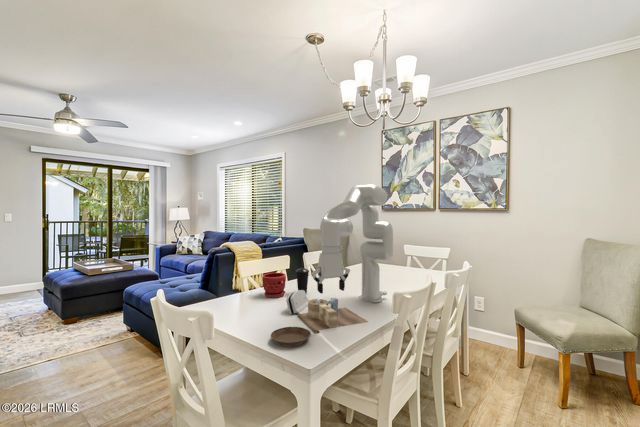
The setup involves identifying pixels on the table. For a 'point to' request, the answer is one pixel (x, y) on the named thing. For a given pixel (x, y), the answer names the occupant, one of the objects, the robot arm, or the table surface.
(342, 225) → the robot arm
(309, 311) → the link
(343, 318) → the board
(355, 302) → the table surface
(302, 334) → the saucer
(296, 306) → the white rounded block
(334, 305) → the bracket
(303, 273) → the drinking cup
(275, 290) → the plant pot
